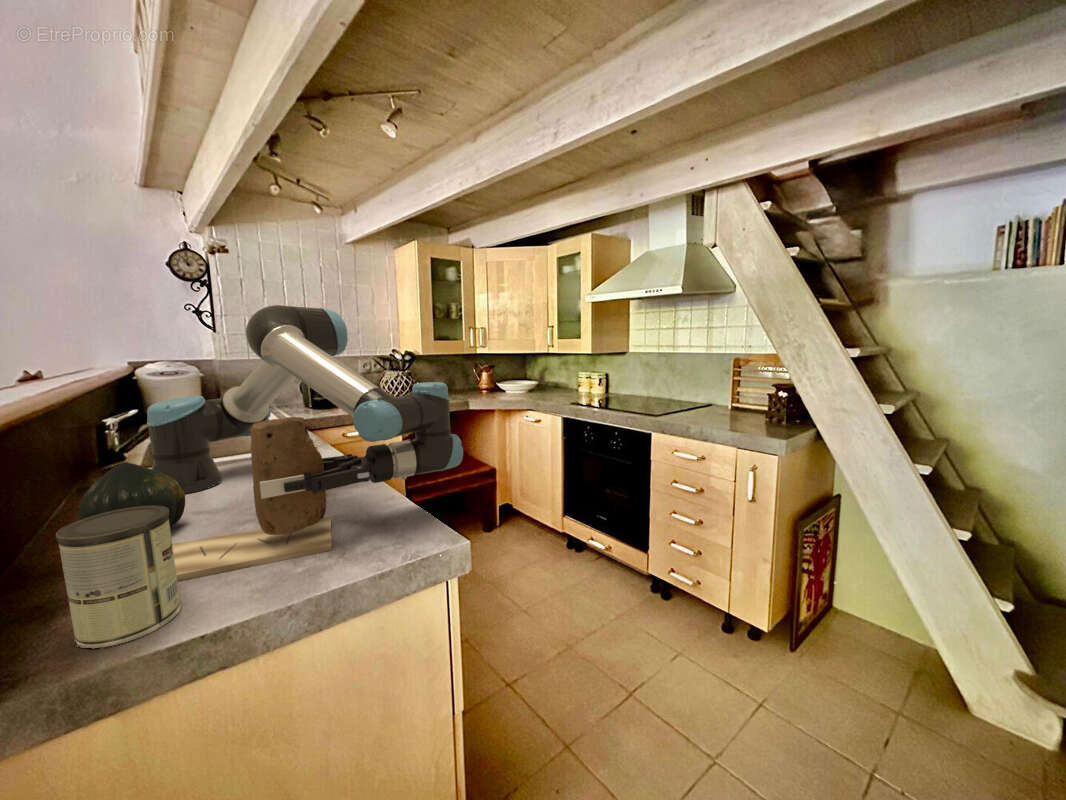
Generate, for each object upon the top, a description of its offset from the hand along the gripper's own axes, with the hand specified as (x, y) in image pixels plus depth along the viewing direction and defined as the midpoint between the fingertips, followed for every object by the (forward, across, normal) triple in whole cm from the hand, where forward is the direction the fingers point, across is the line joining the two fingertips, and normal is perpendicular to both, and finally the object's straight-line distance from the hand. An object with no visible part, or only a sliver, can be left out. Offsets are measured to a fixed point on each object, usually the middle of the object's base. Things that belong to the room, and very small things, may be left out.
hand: (258, 483), depth 75 cm
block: (-5, 0, -9) cm, 10 cm away
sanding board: (+3, +1, -12) cm, 12 cm away
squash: (+20, +23, -12) cm, 32 cm away
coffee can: (+16, -14, -12) cm, 24 cm away
